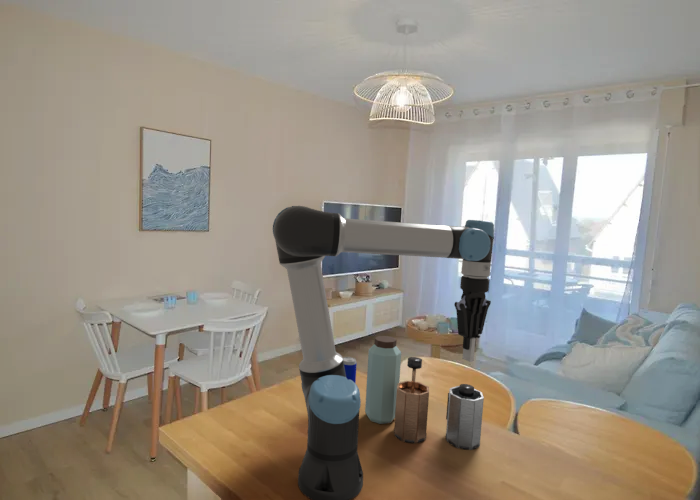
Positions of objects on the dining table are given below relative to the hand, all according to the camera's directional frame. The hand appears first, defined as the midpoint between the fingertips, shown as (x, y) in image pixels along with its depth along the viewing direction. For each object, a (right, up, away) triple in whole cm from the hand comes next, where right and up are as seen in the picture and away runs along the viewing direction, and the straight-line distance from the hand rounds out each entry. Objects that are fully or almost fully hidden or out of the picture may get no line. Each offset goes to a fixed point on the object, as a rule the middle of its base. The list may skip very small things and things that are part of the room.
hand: (467, 359), depth 115 cm
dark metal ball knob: (-1, -18, +2) cm, 19 cm away
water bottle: (-23, -22, +13) cm, 34 cm away
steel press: (-1, -24, +2) cm, 24 cm away
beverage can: (-34, -20, +21) cm, 45 cm away
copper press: (-16, -23, +4) cm, 28 cm away
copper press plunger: (-15, -11, +3) cm, 19 cm away
